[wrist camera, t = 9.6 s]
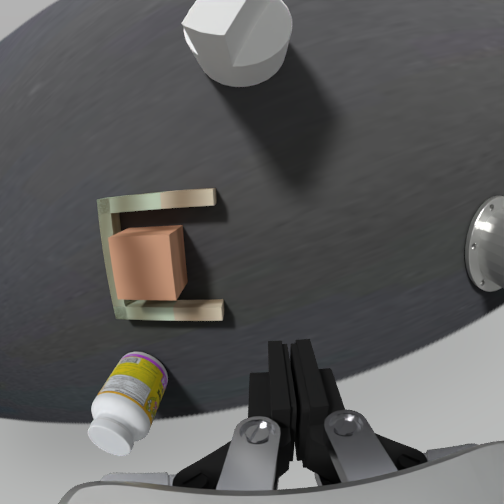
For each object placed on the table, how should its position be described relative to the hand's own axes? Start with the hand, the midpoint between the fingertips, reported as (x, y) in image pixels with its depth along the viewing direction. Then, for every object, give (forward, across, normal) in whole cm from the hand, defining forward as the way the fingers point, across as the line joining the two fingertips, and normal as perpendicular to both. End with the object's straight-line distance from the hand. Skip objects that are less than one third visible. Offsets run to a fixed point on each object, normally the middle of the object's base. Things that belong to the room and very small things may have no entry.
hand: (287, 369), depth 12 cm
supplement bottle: (+19, +16, +15) cm, 29 cm away
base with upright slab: (+19, +2, -21) cm, 29 cm away
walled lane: (+19, +11, 0) cm, 22 cm away
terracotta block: (+19, +12, 0) cm, 23 cm away
